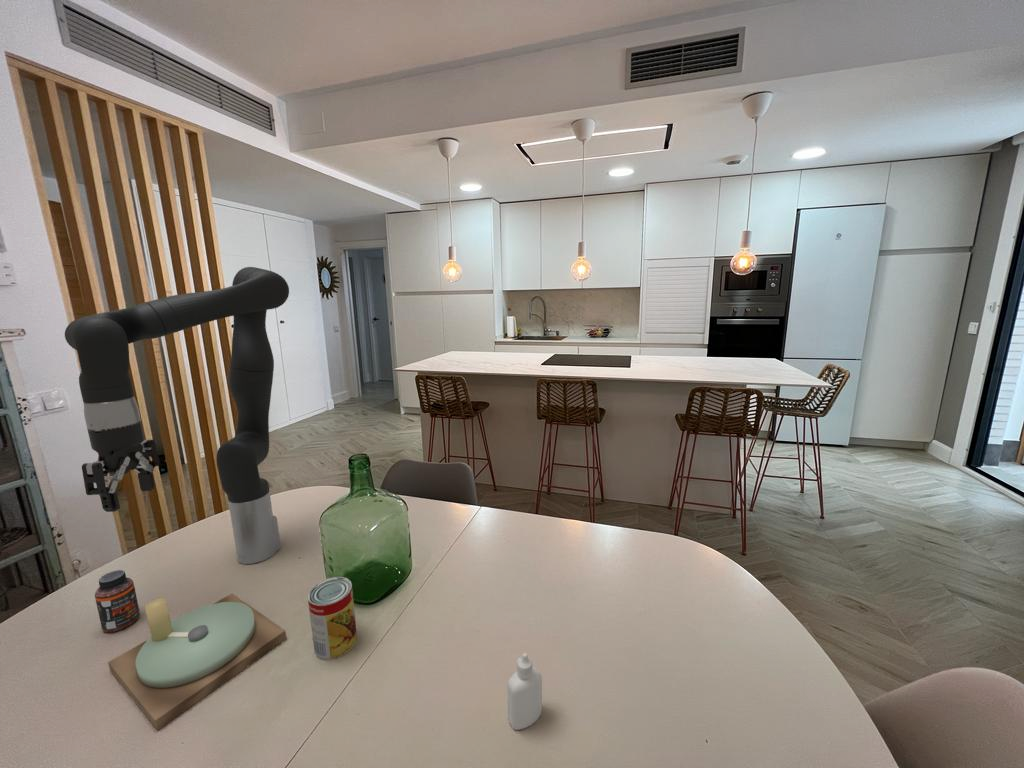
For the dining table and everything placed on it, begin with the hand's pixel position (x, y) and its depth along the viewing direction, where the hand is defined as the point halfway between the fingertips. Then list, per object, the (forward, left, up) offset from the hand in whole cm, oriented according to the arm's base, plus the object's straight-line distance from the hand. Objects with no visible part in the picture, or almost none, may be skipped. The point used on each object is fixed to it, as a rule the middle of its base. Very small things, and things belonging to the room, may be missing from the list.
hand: (131, 500), depth 82 cm
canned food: (-16, +38, -28) cm, 50 cm away
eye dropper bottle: (-22, +78, -28) cm, 86 cm away
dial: (-1, +18, -26) cm, 32 cm away
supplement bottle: (+4, -6, -28) cm, 29 cm away
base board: (-1, +18, -28) cm, 33 cm away
